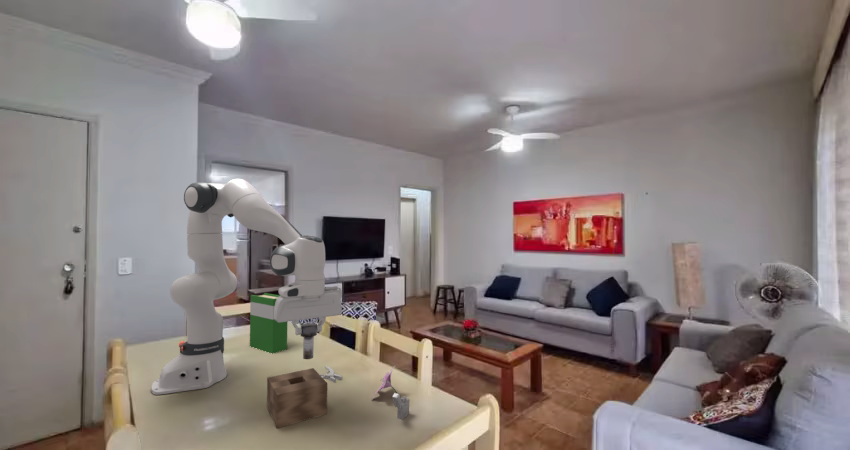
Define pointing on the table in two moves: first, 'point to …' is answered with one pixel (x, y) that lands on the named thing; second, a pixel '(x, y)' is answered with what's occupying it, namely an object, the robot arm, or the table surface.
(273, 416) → the block
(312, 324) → the pin
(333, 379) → the grey branched figurine
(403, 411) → the lighter
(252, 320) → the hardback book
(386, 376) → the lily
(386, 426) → the table surface
